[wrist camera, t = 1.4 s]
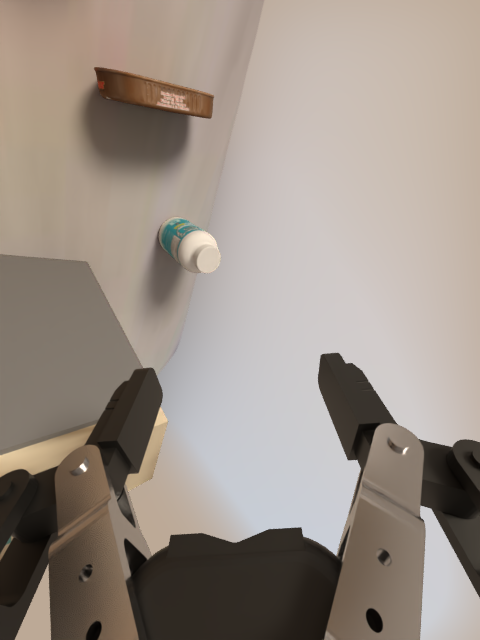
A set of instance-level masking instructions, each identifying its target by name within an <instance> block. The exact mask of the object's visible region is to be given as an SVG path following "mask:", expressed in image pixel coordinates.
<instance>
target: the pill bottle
mask: <svg viewBox="0 0 480 640" xmlns="http://www.w3.org/2000/svg"><path fill="white" fill-rule="evenodd" d="M159 241H160V244H161V246H162V248H163V249H164V250H165V251H166V252H167V253H168V254H169V255H171V256H172V257H173V258H174V259H175V260H176V261H177V262H178V263H180V264H181V265H182V266H183V267H184V268H185V269H186V270H188V271H190V272H193V273H201V272H203V273H211V272H213V271H214V270H215V269H217V267H218V266H219V264H220V261H221V254H220V252H219V250H218V247H217V243H216V241H215V239H214V238H213V237H212V236H211V235H210V234H209V233H207V232H205V231H204V230H202V229H200V228H199V227H197V226H195V225H194V224H192V223H190V222H189V221H187V220H186V219H184V218H180V217H173V218H170V219H168V220H166V221H165V222H164V223H163V224H162V226H161V228H160V231H159Z"/></svg>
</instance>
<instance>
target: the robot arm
mask: <svg viewBox="0 0 480 640" xmlns="http://www.w3.org/2000/svg"><path fill="white" fill-rule="evenodd" d="M318 384H319V388H320V391H321V394H322V396H323V399H324V401H325V404H326V406H327V409H328V411H329V414H330V416H331V419H332V421H333V424H334V426H335V429H336V431H337V434H338V436H339V439H340V441H341V444H342V447H343V449H344V452H345V454H346V456H347V459H348V460H358V463H359V465H360V467H361V470H360V473H359V477H358V481H357V485H356V488H355V492H354V496H353V499H352V503H351V507H350V511H349V514H348V518H347V521H346V524H345V527H344V531H343V534H342V537H341V541H340V544H339V548H338V552H337V556H335V555H334V554H333V553H332V552H331V551H329V550H328V549H327V548H326V547H324V546H322V545H321V544H319V543H318V542H316V541H313V540H311V539H309V538H306V537H303V534H302V529H301V528H284V529H269V530H266V531H264V532H261V533H259V534H257V535H254V536H252V537H250V538H247V539H245V540H242V541H240V542H237V543H232V542H229V541H226V540H222V539H219V538H216V537H213V536H210V535H206V534H203V533H198V534H182V535H171V536H170V542H169V546H167V547H165V548H163V549H161V550H160V551H158V552H157V553H155V554H154V555H153V556H152V555H151V552H150V550H149V547H148V545H147V543H146V540H145V539H144V537H143V535H142V533H141V530H140V527H139V524H138V521H137V518H136V515H135V512H134V508H133V506H132V502H131V499H130V496H129V492H128V489H127V486H126V484H125V482H126V479H127V476H128V474H137V473H139V471H140V468H141V465H142V461H143V458H144V455H145V452H146V449H147V446H148V443H149V440H150V437H151V434H152V431H153V428H154V424H155V421H156V418H157V415H158V412H159V409H160V405H161V403H162V397H163V393H162V389H161V386H160V384H159V381H158V378H157V376H156V373H155V371H154V369H153V368H141V369H135V370H134V372H133V373H132V375H131V377H130V379H129V381H124V382H123V383H122V384H121V385H120V386H119V387H118V388H117V389H116V390H115V391H114V393H113V395H112V397H111V399H110V402H108V404H107V406H106V408H105V410H104V411H103V413H102V415H101V416H100V418H99V420H98V422H97V424H96V425H95V427H94V429H93V431H92V433H91V434H90V436H89V438H88V440H87V441H86V443H85V445H84V446H82V447H79V448H77V449H75V450H74V451H72V452H71V453H70V454H68V455H67V456H66V457H65V458H64V459H63V461H62V462H61V463H60V465H58V466H56V467H53V468H51V469H48V470H45V471H43V472H40V473H37V474H35V475H31V474H30V473H29V472H28V471H27V470H25V469H17V470H14V471H11V472H9V473H7V474H5V475H3V476H2V477H0V554H1V552H2V550H3V549H4V547H5V545H6V543H7V542H8V540H9V538H10V536H12V537H14V538H13V539H12V541H11V543H10V545H9V546H8V548H7V550H6V552H5V553H4V555H3V557H2V559H1V560H0V640H15V637H16V635H17V633H18V630H19V628H20V626H21V624H22V622H23V619H24V617H25V615H26V613H27V610H28V608H29V606H30V603H31V601H32V599H33V597H34V594H35V592H36V590H37V588H38V585H39V583H40V581H41V579H42V576H43V574H44V572H45V569H46V567H47V565H48V563H49V589H50V615H51V616H50V617H51V640H420V629H421V610H422V592H423V591H422V590H423V573H424V554H425V553H424V552H425V523H424V520H423V519H421V517H420V505H421V506H425V507H428V508H431V509H432V510H433V512H434V514H435V516H436V518H437V520H438V522H439V523H440V525H441V527H442V529H443V531H444V532H445V534H446V536H447V538H448V540H449V542H450V544H451V546H452V547H453V549H454V551H455V553H456V554H457V557H458V558H459V560H460V562H461V564H462V566H463V568H464V569H465V572H466V573H467V575H468V577H469V579H470V581H471V582H472V584H473V586H474V588H475V590H476V592H477V594H478V595H479V597H480V442H477V441H473V440H459V441H457V442H456V443H455V444H454V445H453V447H449V446H445V445H440V444H435V443H431V442H427V441H423V440H420V439H418V438H417V437H416V436H415V435H414V434H413V433H412V432H410V431H409V430H407V429H406V428H404V427H402V426H399V425H398V424H397V423H396V422H395V420H394V419H393V417H392V416H391V415H390V413H389V411H388V410H387V409H386V407H385V405H384V404H383V402H382V401H381V399H380V398H379V396H378V394H377V393H376V391H374V389H373V387H372V385H371V384H370V383H369V382H368V379H367V378H366V376H365V375H364V373H363V372H362V370H360V369H359V368H357V367H356V366H355V365H354V364H353V363H348V364H346V363H345V362H344V360H343V358H342V356H341V355H340V354H339V353H330V354H322V355H321V358H320V367H319V374H318Z"/></svg>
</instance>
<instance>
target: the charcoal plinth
mask: <svg viewBox="0 0 480 640" xmlns="http://www.w3.org/2000/svg"><path fill="white" fill-rule="evenodd" d="M141 368H143V367H142V365H141V363H140V361H139V359H138V357H137V355H136V354H135V352H134V350H133V348H132V346H131V344H130V342H129V340H128V338H127V336H126V335H125V333H124V331H123V329H122V327H121V325H120V323H119V321H118V319H117V318H116V316H115V314H114V312H113V310H112V308H111V306H110V304H109V302H108V300H107V299H106V297H105V295H104V293H103V291H102V289H101V287H100V285H99V283H98V282H97V280H96V278H95V276H94V274H93V272H92V270H91V268H90V266H89V264H88V263H87V262H83V261H71V260H59V259H47V258H35V257H23V256H11V255H0V455H3V454H6V453H9V452H12V451H15V450H18V449H21V448H25V447H28V446H31V445H34V444H37V443H40V442H43V441H46V440H49V439H52V438H55V437H58V436H61V435H64V434H67V433H70V432H74V431H77V430H80V429H83V428H86V427H89V426H92V425H95V424H97V422H98V420H99V418H100V416H101V415H102V413H103V411H104V410H105V408H106V406H107V404H108V402H110V399H111V397H112V395H113V393H114V391H115V390H116V389H117V388H118V387H119V386H120V385H121V384H122V383H123V382H124V381H129V379H130V377H131V375H132V373H133V372H134V370H135V369H141Z"/></svg>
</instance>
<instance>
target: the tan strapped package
mask: <svg viewBox="0 0 480 640" xmlns="http://www.w3.org/2000/svg"><path fill="white" fill-rule="evenodd" d="M167 423H168V420H167V418H166V416H165V414H164V412H163V411H162V409H161V407H160V409H159V412H158V415H157V418H156V421H155V424H154V428H153V431H152V434H151V437H150V440H149V443H148V446H147V449H146V452H145V455H144V458H143V461H142V465H141V468H140V471H139V473H137V474H128V476H127V479H126V482H125V484H126V486H127V489H128V491H130V490H131V489H133V488H135V487H137V486H139V485H140V484H142V483H144V482H146V481H148V480H150V479H152V477H153V473H154V470H155V466H156V463H157V459H158V455H159V452H160V448H161V444H162V441H163V437H164V434H165V431H166V427H167ZM95 425H96V424H95ZM95 425H92V426H89V427H86V428H83V429H80V430H77V431H74V432H70V433H67V434H64V435H61V436H58V437H55V438H52V439H49V440H46V441H43V442H40V443H37V444H34V445H31V446H28V447H25V448H21V449H18V450H15V451H12V452H9V453H6V454H3V455H0V477H2V476H3V475H5V474H7V473H9V472H11V471H14V470H17V469H25V470H27V471H28V472H29V473H30V474H31V475H35V474H37V473H40V472H43V471H45V470H48V469H51V468H53V467H56V466H58V465H60V463H61V462H62V461H63V459H64V458H65V457H66V456H67V455H68V454H70V453H71V452H72V451H74V450H75V449H77V448H79V447H82V446H84V445H85V443H86V441H87V440H88V438H89V436H90V434H91V433H92V431H93V429H94V427H95ZM13 538H14V537H12V536H10V538H9V540H8V542H7V543H6V545H5V547H4V549H3V550H2V552H1V554H0V560H1V559H2V557H3V555H4V553H5V552H6V550H7V548H8V546H9V545H10V543H11V541H12V539H13Z"/></svg>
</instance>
